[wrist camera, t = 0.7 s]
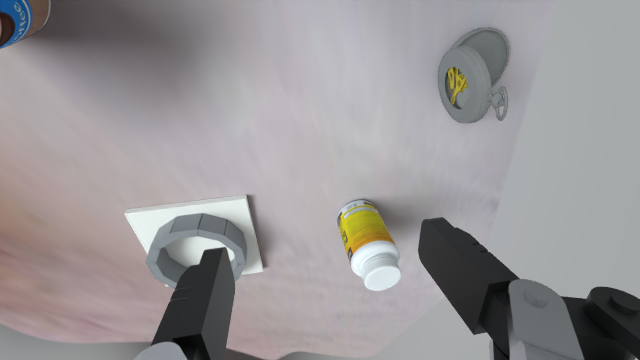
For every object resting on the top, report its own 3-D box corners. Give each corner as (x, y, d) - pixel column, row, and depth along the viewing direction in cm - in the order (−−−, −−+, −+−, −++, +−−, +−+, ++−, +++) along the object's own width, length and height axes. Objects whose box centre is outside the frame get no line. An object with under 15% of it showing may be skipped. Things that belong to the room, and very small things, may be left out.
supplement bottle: (330, 208, 34) (350, 274, 26) (370, 191, 34) (404, 253, 26) (343, 235, 38) (365, 302, 29) (380, 220, 37) (413, 283, 29)
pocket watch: (512, 59, 27) (617, 82, 19) (447, 121, 30) (514, 165, 22) (473, -4, 24) (584, -8, 15) (403, 74, 26) (465, 106, 18)
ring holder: (127, 209, 30) (112, 231, 27) (246, 194, 31) (244, 213, 28) (168, 281, 37) (159, 305, 34) (263, 266, 38) (262, 288, 35)
